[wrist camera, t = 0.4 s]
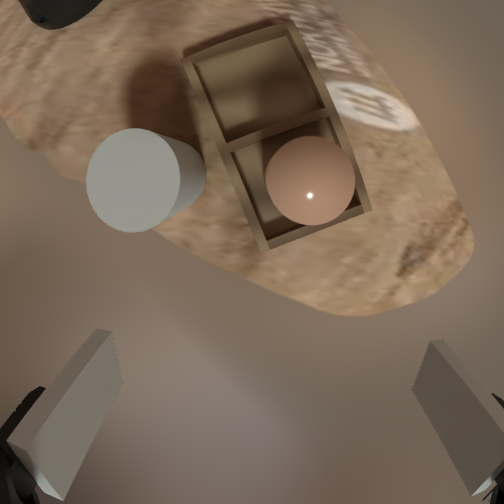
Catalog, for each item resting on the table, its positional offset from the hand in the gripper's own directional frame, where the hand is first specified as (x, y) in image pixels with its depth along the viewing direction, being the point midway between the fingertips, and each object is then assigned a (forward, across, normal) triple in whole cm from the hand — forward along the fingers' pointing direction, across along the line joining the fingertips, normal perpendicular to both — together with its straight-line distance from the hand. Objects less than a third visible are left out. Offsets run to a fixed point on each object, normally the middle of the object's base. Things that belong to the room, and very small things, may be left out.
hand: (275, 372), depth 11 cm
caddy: (+25, +1, +12) cm, 27 cm away
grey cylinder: (+25, -11, +6) cm, 28 cm away
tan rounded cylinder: (+24, +3, +7) cm, 25 cm away
